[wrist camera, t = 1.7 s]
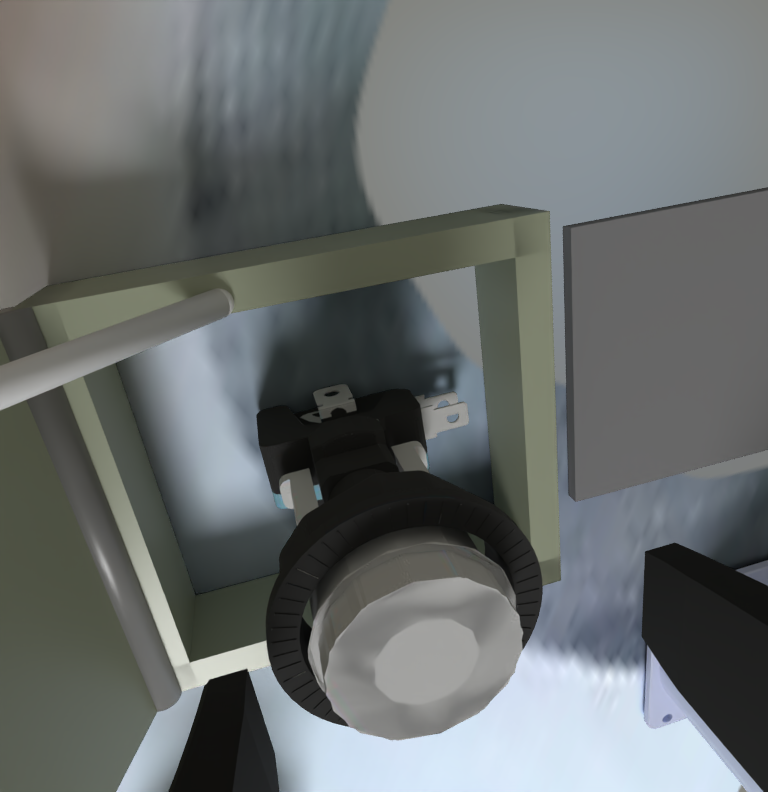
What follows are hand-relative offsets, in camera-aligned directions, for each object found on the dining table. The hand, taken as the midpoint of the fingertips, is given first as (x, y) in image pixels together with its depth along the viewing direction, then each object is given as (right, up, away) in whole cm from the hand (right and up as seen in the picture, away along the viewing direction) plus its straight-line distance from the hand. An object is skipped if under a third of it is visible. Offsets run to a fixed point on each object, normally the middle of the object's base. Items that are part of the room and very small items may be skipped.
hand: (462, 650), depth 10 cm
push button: (-2, +4, +9) cm, 10 cm away
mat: (+9, +6, +11) cm, 16 cm away
